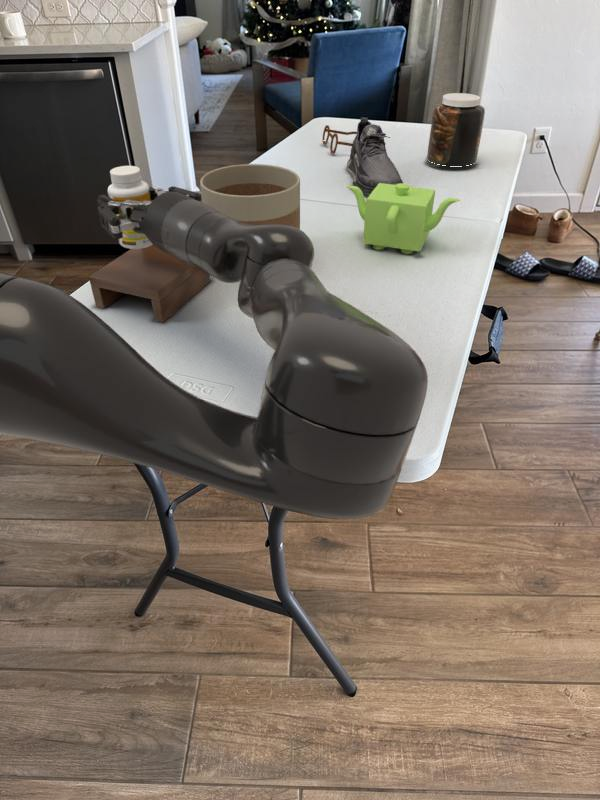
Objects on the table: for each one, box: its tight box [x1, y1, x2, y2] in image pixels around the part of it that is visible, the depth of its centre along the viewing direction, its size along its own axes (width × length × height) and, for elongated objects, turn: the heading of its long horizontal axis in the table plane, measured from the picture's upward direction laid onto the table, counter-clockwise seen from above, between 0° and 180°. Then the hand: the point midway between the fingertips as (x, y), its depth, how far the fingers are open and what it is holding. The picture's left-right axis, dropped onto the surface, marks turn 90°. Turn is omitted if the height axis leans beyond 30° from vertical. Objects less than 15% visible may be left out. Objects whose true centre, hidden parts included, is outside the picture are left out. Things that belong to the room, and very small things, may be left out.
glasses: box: [322, 124, 357, 155], centre depth 152 cm, size 13×13×5 cm
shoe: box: [346, 117, 404, 196], centre depth 128 cm, size 10×27×12 cm, turn 8°
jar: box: [426, 92, 486, 171], centre depth 138 cm, size 12×12×15 cm
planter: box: [199, 163, 301, 230], centre depth 96 cm, size 16×16×14 cm
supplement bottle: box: [107, 165, 153, 250], centre depth 80 cm, size 6×6×10 cm
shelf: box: [88, 245, 212, 323], centre depth 88 cm, size 14×12×9 cm
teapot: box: [345, 182, 461, 255], centre depth 102 cm, size 15×13×11 cm
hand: (122, 196), depth 81 cm, fingers closed on supplement bottle, 5 cm apart
